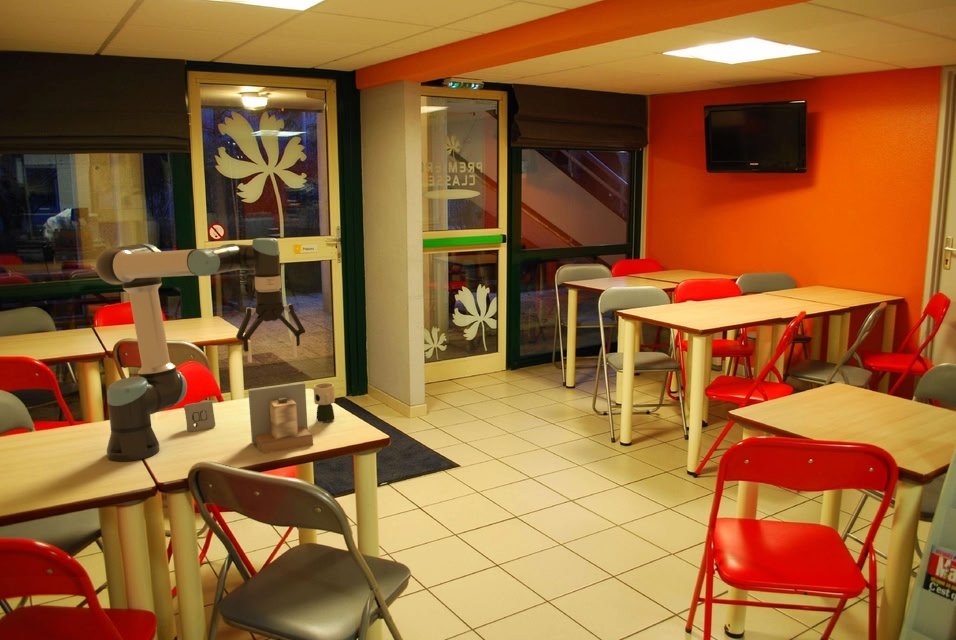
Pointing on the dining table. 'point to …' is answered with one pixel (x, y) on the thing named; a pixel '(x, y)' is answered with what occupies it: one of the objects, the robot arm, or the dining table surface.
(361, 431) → the dining table surface
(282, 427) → the tan canister
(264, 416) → the grey panel display stand
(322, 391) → the character mug
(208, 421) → the electrical switch
